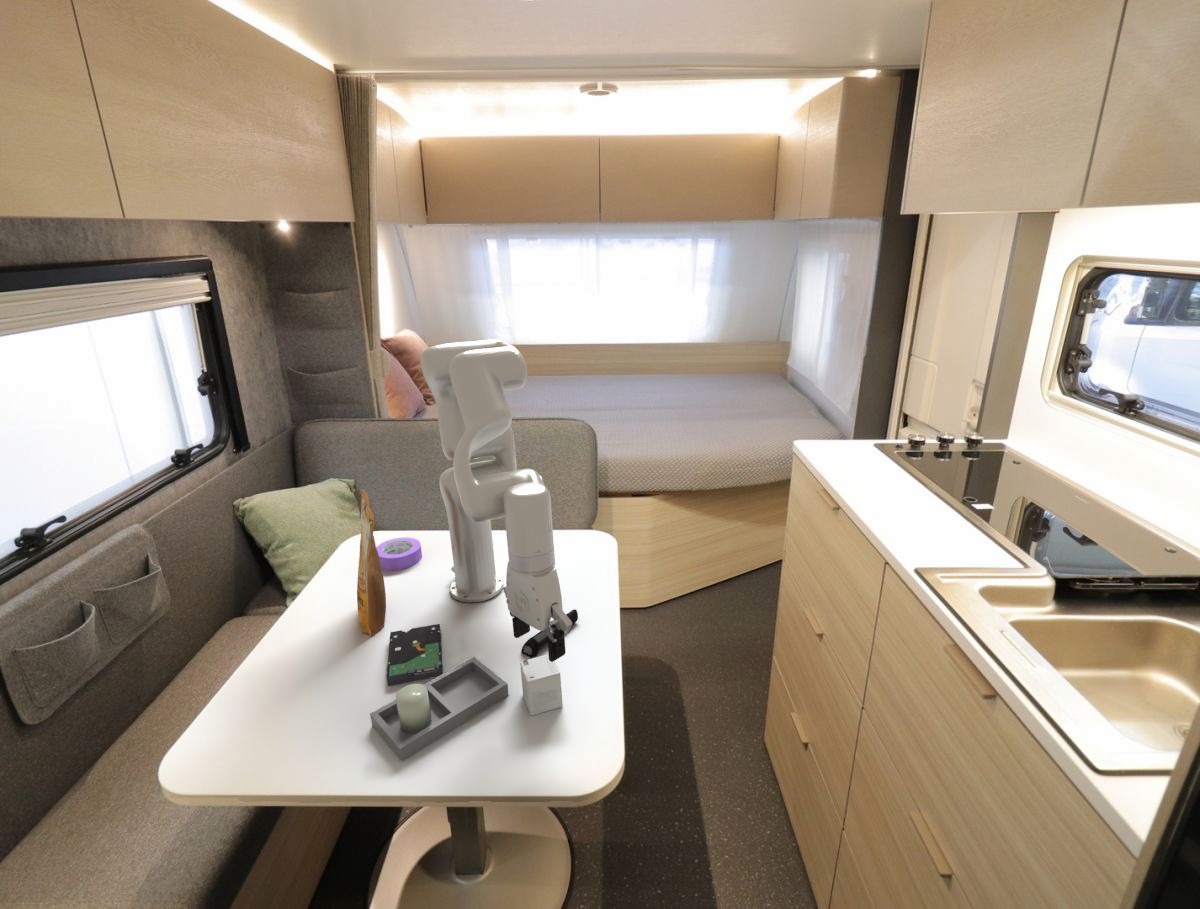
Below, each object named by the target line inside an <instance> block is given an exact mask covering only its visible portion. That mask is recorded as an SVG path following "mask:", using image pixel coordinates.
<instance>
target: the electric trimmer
mask: <svg viewBox="0 0 1200 909" xmlns="http://www.w3.org/2000/svg"><path fill="white" fill-rule="evenodd" d="M565 614H566V615H567V616H568V618H569V619H570V620H571V621H572V626H574V625H575V624H576V622H578V619H579V615H578V614H579V613H578V610H577V609H572V610H570V611H569V612H567V613H565ZM551 628H552V630H553V632H554V633H556V632H557V631H558V628H557V627H556V625H555V624H553V625H551ZM548 640H550V639H549V637H548V635H547V633H546V631H545V629H544V630H543V631H540V630H539V632H538V633H536V634H534V635H532V636H531V637H529V638H528V639H527V641H525V643H523V645H522V647H521V651H520V652H521V654H523V655H524V656H526V657H528V658H529V659H532V658H536V657H538V653H539V651H540V650H542V649H543V648H544V647H546V646H548Z"/></svg>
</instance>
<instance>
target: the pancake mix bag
mask: <svg viewBox="0 0 1200 909" xmlns="http://www.w3.org/2000/svg"><path fill="white" fill-rule="evenodd" d="M359 490H360V493H361V500H360V501H361V502H360V542H359V557H358V558H359V559H358V568H357V585H356V600H357V602H356V603H357V613H358V620H359V625H360V629H361V632H362V634H368V635H369V636H370V638H372V637H374V636H375V635H377V634H378V633H380V632H381V631H382V629H383V628H384V627H385V622H386V615H387V614H386V613H387V612H386V611H387V593H386V586H385V579H384V573H383V572H384V571H383V569H382V567H381V562H380V558H379V555H378V551H377V549H376V547H377V545H376V541H375V537H374V530H375V515H374V512H373V511H372V508H371V506H370V499H369V493H367V491H366V490H364V489H363V488H360V489H359Z"/></svg>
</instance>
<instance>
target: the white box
mask: <svg viewBox="0 0 1200 909" xmlns="http://www.w3.org/2000/svg"><path fill="white" fill-rule="evenodd" d="M519 666H520V676H521V686H522V688H521V689H522V695H523V698H524V702H525V705H526V708H527V710H528V712H529V715H530V716H535V715H538V714H539V715H540V714H542V713H545V712H549V711H551V710H552V711H553V710H555V709H558V708H562V707H563V705H564V704H563V693H562V692H563V691H562V681H561V680H562V679H561V678H562V677H561V672H560V669H559V667H558V665H557V662H556V660H555V661H553V662H551V661H549V654H548V653H547V654H544V655H540V656H536V657H533V658H529V659H525V660H522V661H520V662H519Z"/></svg>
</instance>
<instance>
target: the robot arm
mask: <svg viewBox="0 0 1200 909" xmlns="http://www.w3.org/2000/svg"><path fill="white" fill-rule="evenodd" d="M420 366H421V372H422V374H423V377H424V380H425V382H426V384H427V387H428V388H429V390H430V392H431V394H432V396H433V399H434V402H435V406H436V413H437V422H438V430H439V437H440V445H441V448H442V452H443V454H444V456H445V458H446V459H447V460H449V461H452V463H453V464H452V467H449V468H447V469H445V470H444V471H443V472H442V473H441V475H440V476H439V481H438V482H439V488H440V489H439V490H440V493H441V496H442V500H443V502H444V503H443V504H444V506H445V511H446V516H447V524H448V529H449V537H450V545H451V553H452V562H453V565H452V567H451V568H450V570H451V571H452V572H453V573H454V576H455V577H454V578H455V579H454V581H452V583H451V585H450V586H449V591H450V595H451V596H452V598H453V599H455V600H457V601H459V602H463V603H480V602H484V601H487V600H490V599H493V598H494V597H496V596H497V595H499V594H500V593H501V592H502V590H503V593H504V596H505V598H506V604H507V609H508V611H509V615H510V616H511V617H512V619H511V620H512V621H511V622H512V629H513V630H512V631H513V637H514V638H515V639H518V638H521V637H522V636H524V635H526V634H528V633H530V631H531V627H532V628H533V629H535V630H537V631H539V632H540V631H543V630H544V629H545V631H546V633H547V635H548V637H549V639H550V640H548V644H547V654H549V661H551V662H553V661H555V662H556V661H557V660H558V659H560V658H561V657H563V656H564V655H566V642H565V641H566V640H565V639H566V638H565V637H566V636H567V635H569V633H571V629H572V627H573V625H572V621H571V620H570V619H569V618H568V616H567V615H566V614H567V613H565V612H564V611H563V599H562V591H561V585H560V579H559V576H558V571H557V568H556V559H555V558H556V556H555V545H554V533H553V532H554V531H553V530H554V529H553V516H552V515H553V514H552V501H551V493H550V490H549V489H548V487H547V486H545V482H544V479H543V477H542V476H541V475H540V474H539V473H538V472H537V471H536V470H535V469H533V468H521V469H517V467H518V465H517V456H516V444H515V436H514V431H513V427H512V421H513V414H512V412H511V409H510V407H509V404H508V401H507V397H506V395H505V393H504V392H507V391H508V392H509V391H514V390H519V389H522V388H523V387H525V385H526V384H527V381H528V367H527V363H526V361H525V358H524V356H523V354H522V353H521V352H520V351H519V349H517V347H516V346H514V345H513V344H511V343H508V342H506V341H504V340H501V339H484V340H473V341H459V342H458V341H456V342H449V343H439V344H436V345H433V346H428V348H426V349H424V350H423V351H422V353H421V355H420ZM487 457H493V459H488V460H482V461H475V462H470V461H471V460H475V459H481V458H487ZM503 518H504V521H505V531H506V541H507V542H506V543H507V553H508V561H507V567H506V580H505V583H506V585H505V586H504V580H503V578H502V577H501V575H499V574H498V573H496V564H495V562H496V561H495V554H494V553H495V552H494V543H493V542H494V541H493V540H494V539H493V530H492V520H493V521H494V520H497V519H503ZM553 624H555V625H556V627H557V628H558V631H557V632H556V633H554V632H553V630H552V628H551V625H553Z"/></svg>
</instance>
